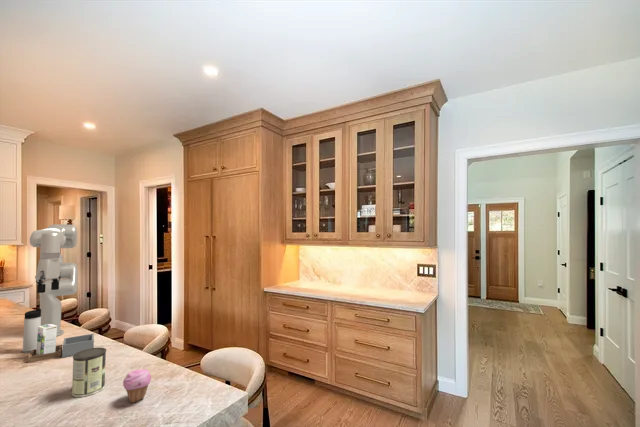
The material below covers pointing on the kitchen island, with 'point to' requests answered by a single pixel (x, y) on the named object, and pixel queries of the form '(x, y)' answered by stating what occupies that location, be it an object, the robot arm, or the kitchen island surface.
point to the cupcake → (137, 384)
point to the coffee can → (88, 372)
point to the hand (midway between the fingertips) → (48, 291)
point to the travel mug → (31, 330)
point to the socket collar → (44, 355)
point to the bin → (77, 344)
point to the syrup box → (46, 339)
